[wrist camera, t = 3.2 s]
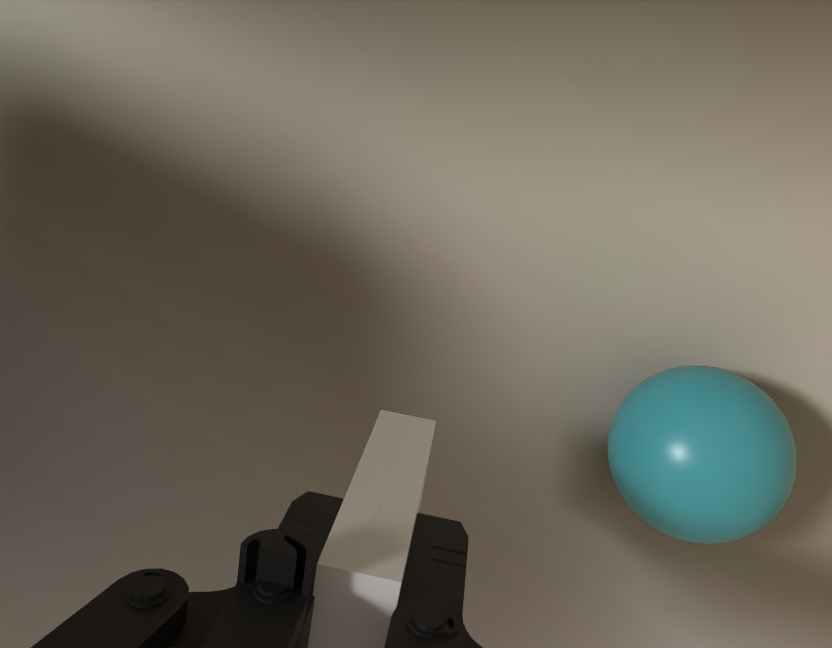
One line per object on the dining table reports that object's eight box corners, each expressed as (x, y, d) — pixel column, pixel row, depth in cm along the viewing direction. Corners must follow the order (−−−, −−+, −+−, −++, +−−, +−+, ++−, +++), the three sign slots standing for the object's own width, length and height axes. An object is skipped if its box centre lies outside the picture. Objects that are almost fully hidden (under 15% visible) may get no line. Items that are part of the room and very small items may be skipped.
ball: (620, 501, 25) (653, 602, 20) (576, 369, 24) (600, 441, 19) (773, 461, 24) (850, 557, 19) (736, 321, 23) (808, 383, 18)
